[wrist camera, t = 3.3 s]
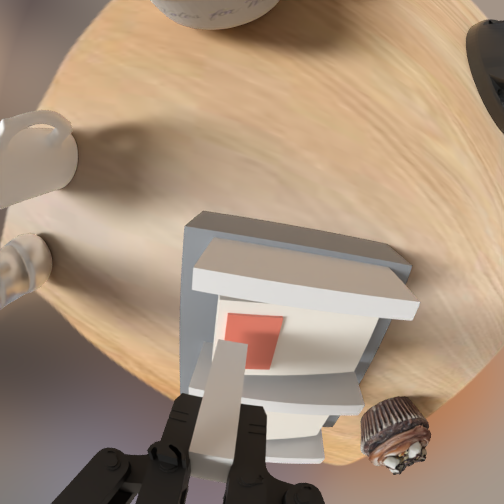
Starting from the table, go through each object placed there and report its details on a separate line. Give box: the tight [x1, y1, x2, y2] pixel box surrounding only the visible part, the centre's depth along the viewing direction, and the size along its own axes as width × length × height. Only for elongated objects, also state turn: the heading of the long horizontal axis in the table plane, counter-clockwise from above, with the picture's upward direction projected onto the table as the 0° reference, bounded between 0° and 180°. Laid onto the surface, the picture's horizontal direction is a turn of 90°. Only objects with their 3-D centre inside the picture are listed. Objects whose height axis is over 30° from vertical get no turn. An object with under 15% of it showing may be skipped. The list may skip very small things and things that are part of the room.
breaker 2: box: [265, 411, 329, 440], centre depth 19 cm, size 10×6×2 cm, turn 81°
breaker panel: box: [180, 211, 420, 464], centre depth 20 cm, size 16×19×10 cm
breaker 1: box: [212, 295, 379, 375], centre depth 16 cm, size 10×6×2 cm, turn 81°
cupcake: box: [361, 397, 431, 475], centre depth 25 cm, size 10×10×10 cm
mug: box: [0, 110, 78, 209], centre depth 15 cm, size 10×7×12 cm, turn 117°
